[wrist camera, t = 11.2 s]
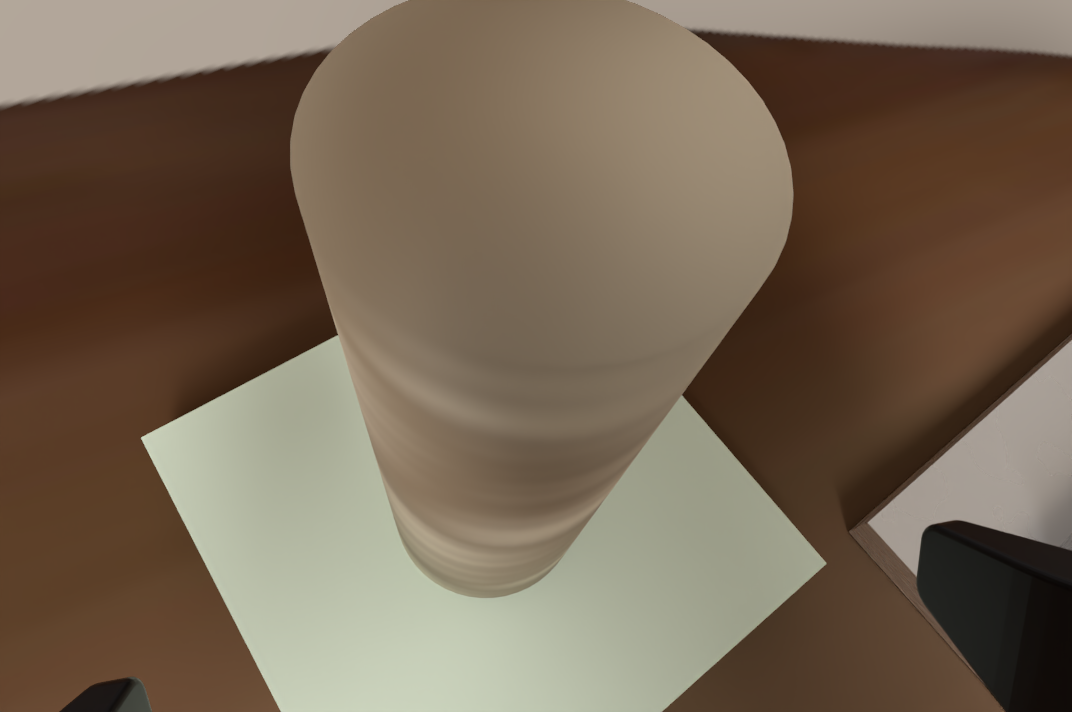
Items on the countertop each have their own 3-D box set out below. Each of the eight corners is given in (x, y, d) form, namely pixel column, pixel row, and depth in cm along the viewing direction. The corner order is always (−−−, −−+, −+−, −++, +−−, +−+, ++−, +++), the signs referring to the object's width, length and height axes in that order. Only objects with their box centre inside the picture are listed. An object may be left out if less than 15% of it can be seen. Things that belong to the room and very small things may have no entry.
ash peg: (596, 449, 18) (816, 56, 7) (548, 624, 16) (755, 446, 5) (434, 396, 18) (408, -66, 7) (365, 562, 16) (185, 261, 5)
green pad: (799, 574, 18) (826, 563, 17) (406, 924, 14) (400, 946, 13) (534, 259, 22) (539, 229, 21) (163, 458, 18) (140, 438, 17)
